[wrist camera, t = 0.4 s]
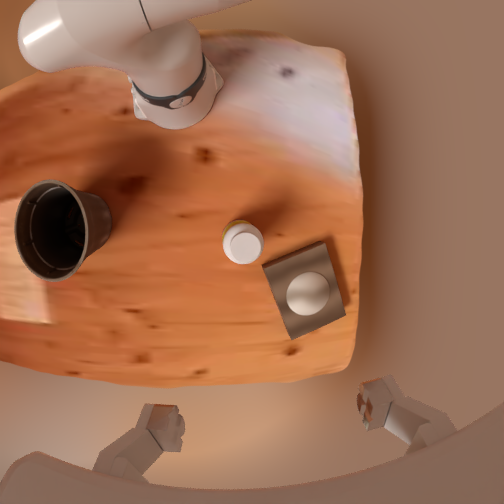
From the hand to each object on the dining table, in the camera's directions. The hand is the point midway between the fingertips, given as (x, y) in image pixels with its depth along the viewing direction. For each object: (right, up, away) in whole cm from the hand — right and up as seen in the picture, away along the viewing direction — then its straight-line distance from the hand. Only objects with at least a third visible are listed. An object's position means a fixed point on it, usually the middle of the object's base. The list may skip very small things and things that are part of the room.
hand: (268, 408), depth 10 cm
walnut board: (+10, -1, +47) cm, 48 cm away
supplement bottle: (-3, +10, +43) cm, 45 cm away
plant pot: (-35, +13, +39) cm, 54 cm away
